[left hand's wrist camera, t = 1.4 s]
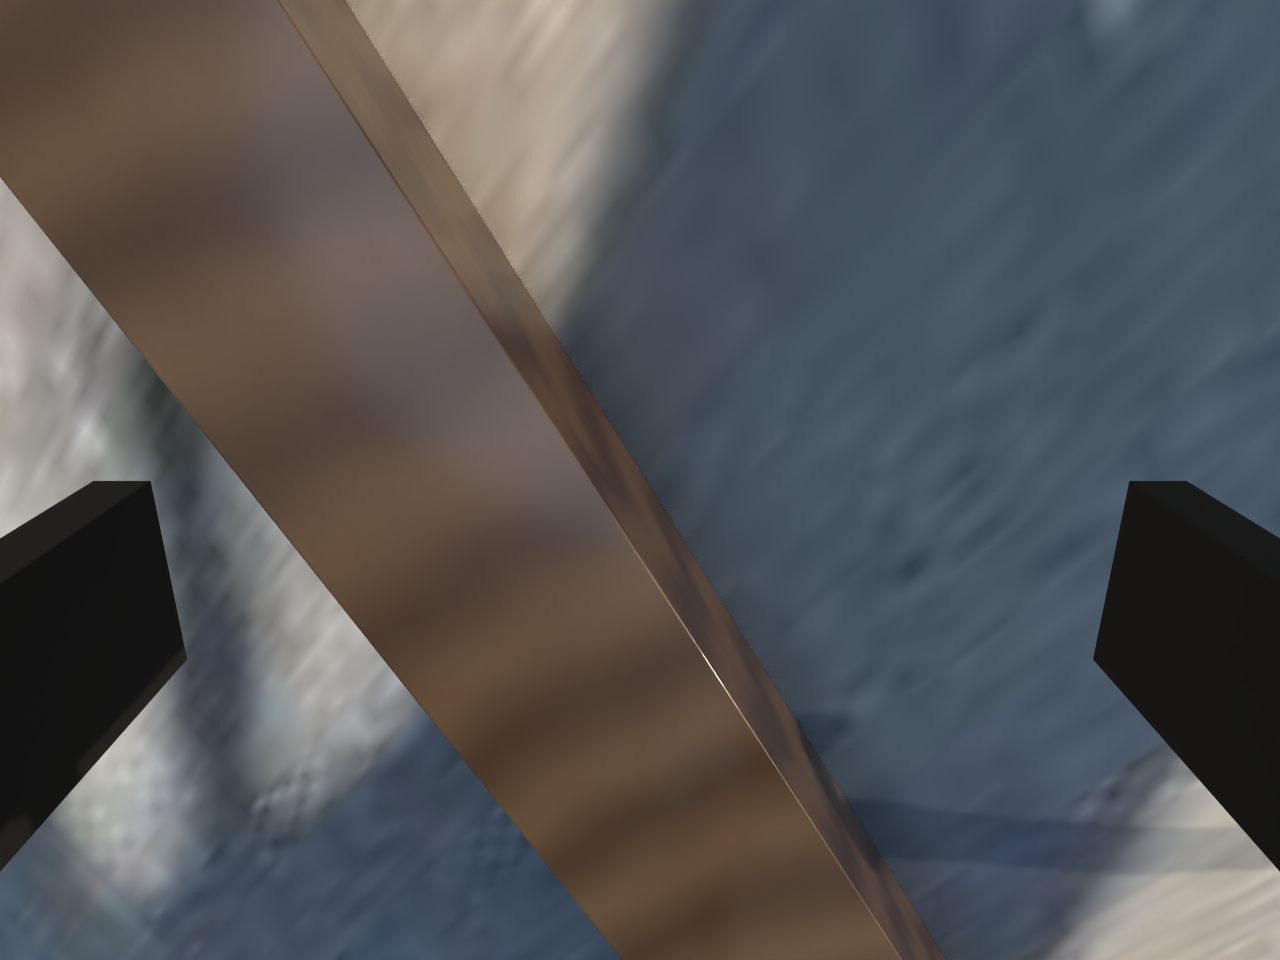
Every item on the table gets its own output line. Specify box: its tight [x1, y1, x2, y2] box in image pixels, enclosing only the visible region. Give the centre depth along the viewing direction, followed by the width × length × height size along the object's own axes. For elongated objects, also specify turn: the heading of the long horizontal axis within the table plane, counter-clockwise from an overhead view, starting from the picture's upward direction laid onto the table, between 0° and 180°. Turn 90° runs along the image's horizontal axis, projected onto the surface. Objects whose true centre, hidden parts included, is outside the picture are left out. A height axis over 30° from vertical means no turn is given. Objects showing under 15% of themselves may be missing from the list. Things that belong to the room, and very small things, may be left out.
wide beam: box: [0, 0, 946, 960], centre depth 33 cm, size 60×9×8 cm, turn 31°
